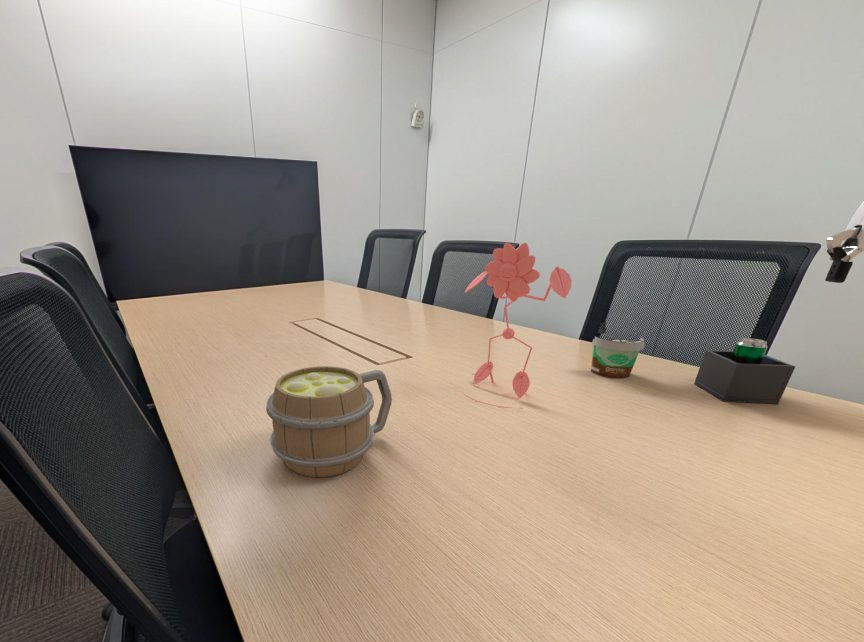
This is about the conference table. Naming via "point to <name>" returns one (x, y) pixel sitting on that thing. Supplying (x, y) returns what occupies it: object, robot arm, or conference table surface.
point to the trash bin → (743, 378)
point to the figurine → (515, 297)
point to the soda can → (749, 351)
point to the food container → (615, 357)
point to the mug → (325, 418)
